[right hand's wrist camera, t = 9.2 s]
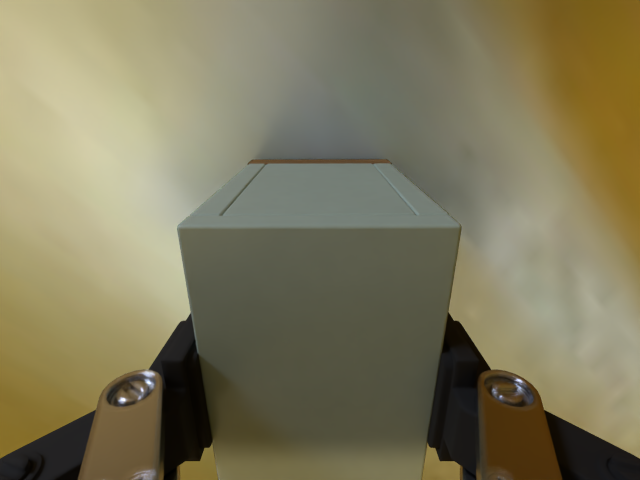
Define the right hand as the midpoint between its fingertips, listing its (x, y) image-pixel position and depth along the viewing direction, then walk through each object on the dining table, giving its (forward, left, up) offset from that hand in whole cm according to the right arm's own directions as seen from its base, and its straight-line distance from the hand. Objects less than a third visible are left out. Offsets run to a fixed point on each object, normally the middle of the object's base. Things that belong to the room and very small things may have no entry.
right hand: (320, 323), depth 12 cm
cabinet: (+4, -3, -5) cm, 8 cm away
